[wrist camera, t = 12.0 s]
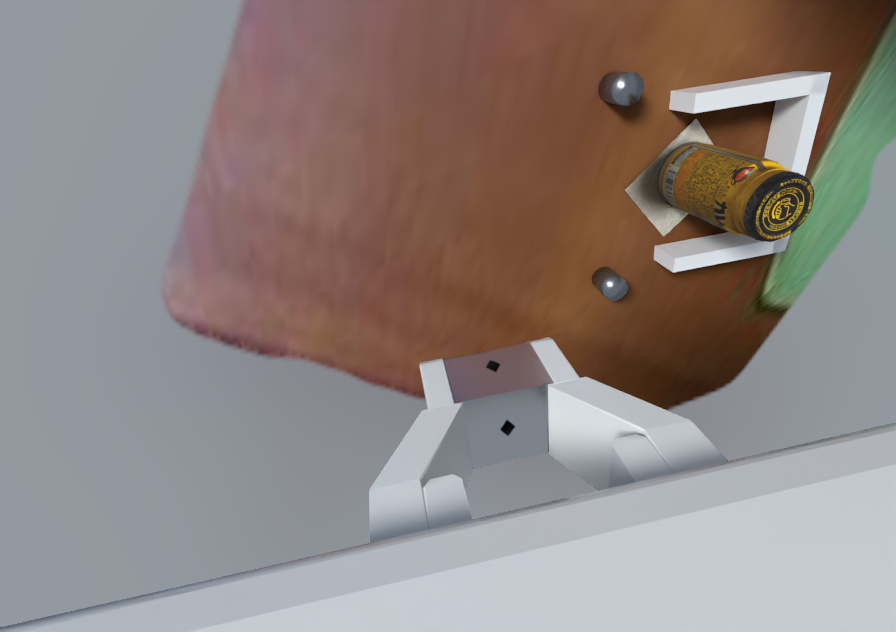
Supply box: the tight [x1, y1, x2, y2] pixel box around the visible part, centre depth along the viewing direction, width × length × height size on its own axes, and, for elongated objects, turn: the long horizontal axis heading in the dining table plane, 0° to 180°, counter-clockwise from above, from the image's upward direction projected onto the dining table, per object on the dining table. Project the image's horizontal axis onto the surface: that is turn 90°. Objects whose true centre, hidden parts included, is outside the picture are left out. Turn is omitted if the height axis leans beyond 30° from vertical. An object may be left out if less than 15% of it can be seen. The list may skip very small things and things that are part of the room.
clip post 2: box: [592, 267, 628, 301], centre depth 48 cm, size 2×2×3 cm
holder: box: [654, 71, 831, 273], centre depth 44 cm, size 12×16×4 cm
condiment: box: [625, 119, 814, 242], centre depth 40 cm, size 7×8×12 cm
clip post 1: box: [598, 72, 644, 106], centre depth 39 cm, size 2×2×3 cm
